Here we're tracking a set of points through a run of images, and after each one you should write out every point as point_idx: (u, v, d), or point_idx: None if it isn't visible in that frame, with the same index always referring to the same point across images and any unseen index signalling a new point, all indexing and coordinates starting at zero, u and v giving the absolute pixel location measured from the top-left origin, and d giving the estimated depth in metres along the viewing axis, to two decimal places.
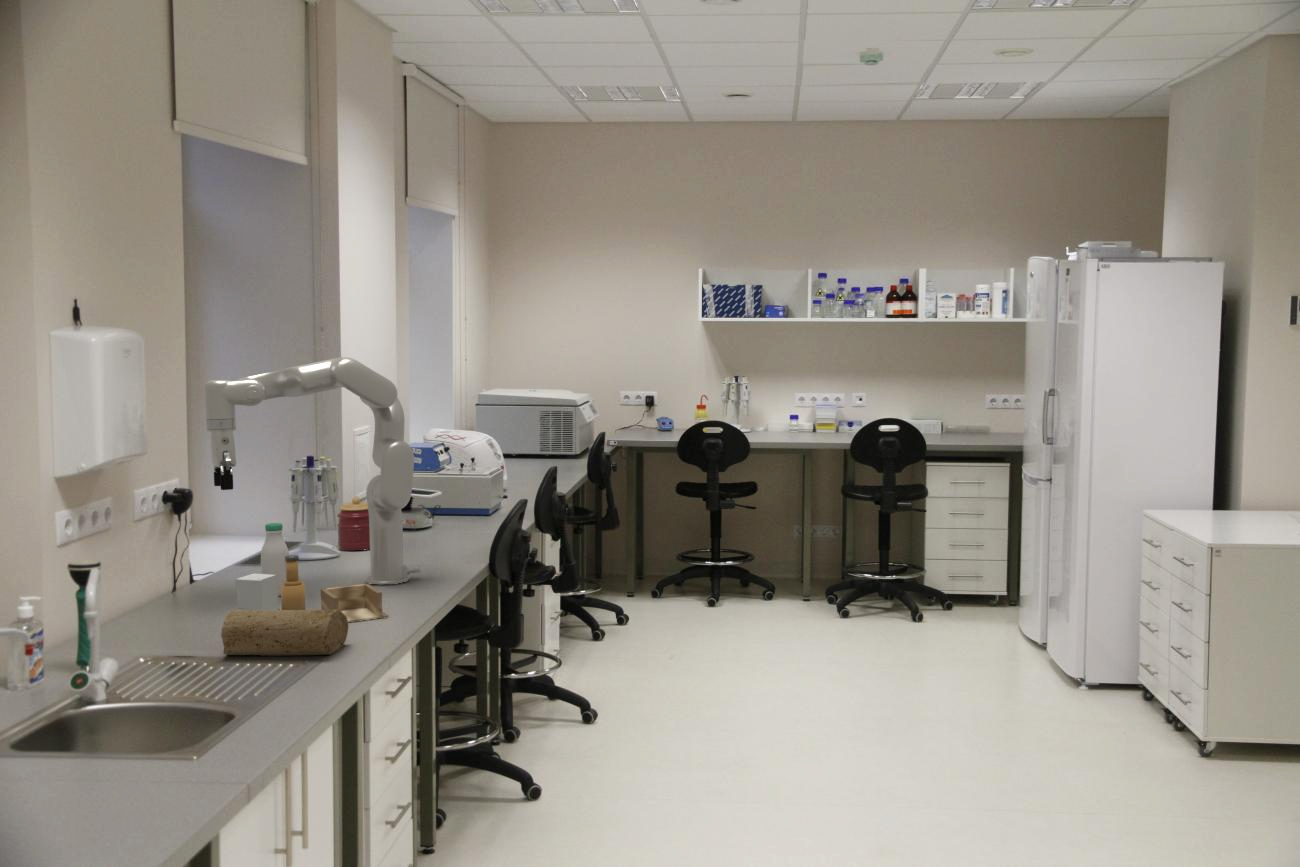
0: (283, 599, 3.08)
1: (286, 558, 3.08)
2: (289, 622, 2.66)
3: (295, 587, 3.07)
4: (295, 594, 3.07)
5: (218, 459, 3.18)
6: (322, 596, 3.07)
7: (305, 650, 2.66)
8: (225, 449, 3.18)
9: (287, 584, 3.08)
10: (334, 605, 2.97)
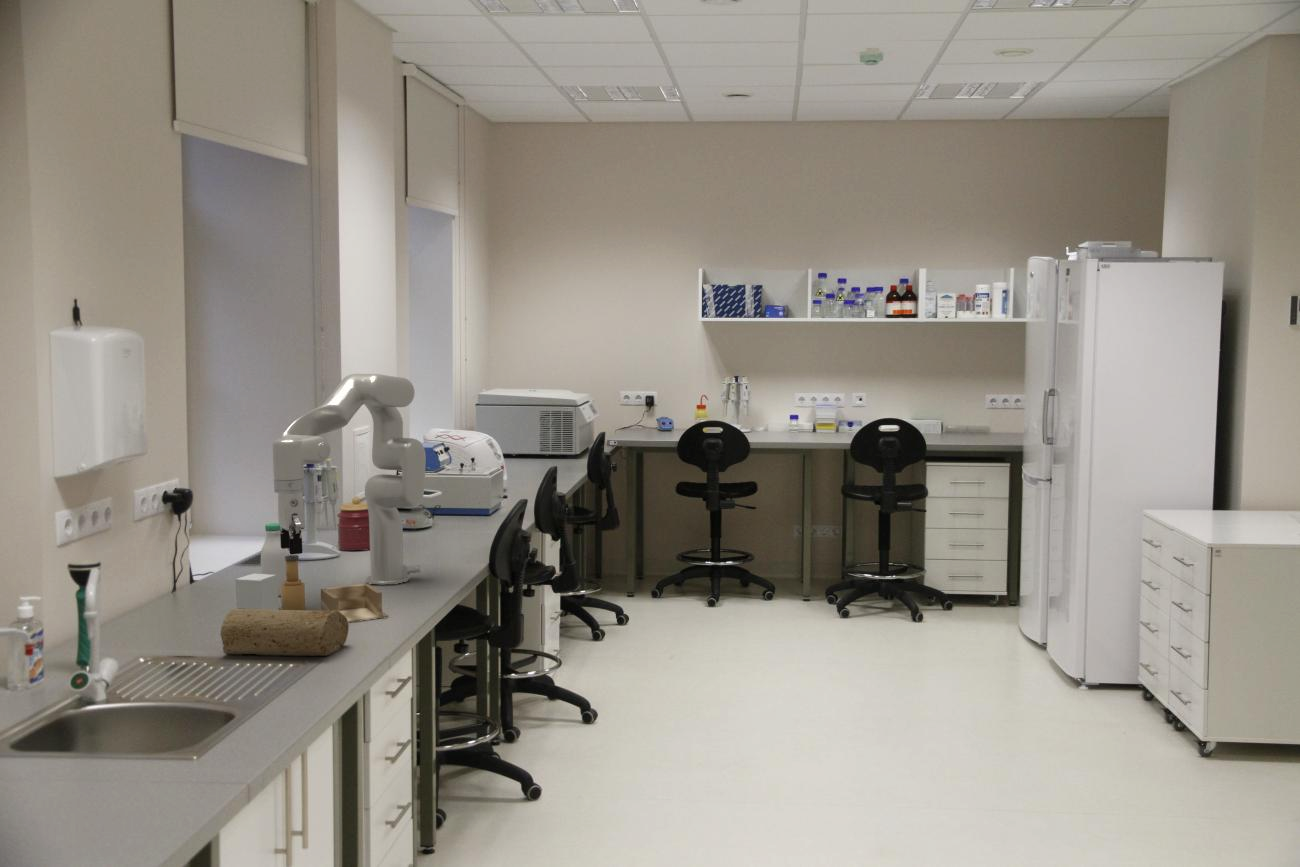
0: (283, 599, 3.08)
1: (286, 558, 3.08)
2: (286, 622, 2.66)
3: (295, 587, 3.07)
4: (295, 594, 3.07)
5: (287, 522, 3.03)
6: (322, 596, 3.07)
7: (302, 650, 2.65)
8: (294, 511, 3.04)
9: (287, 584, 3.08)
10: (334, 605, 2.97)
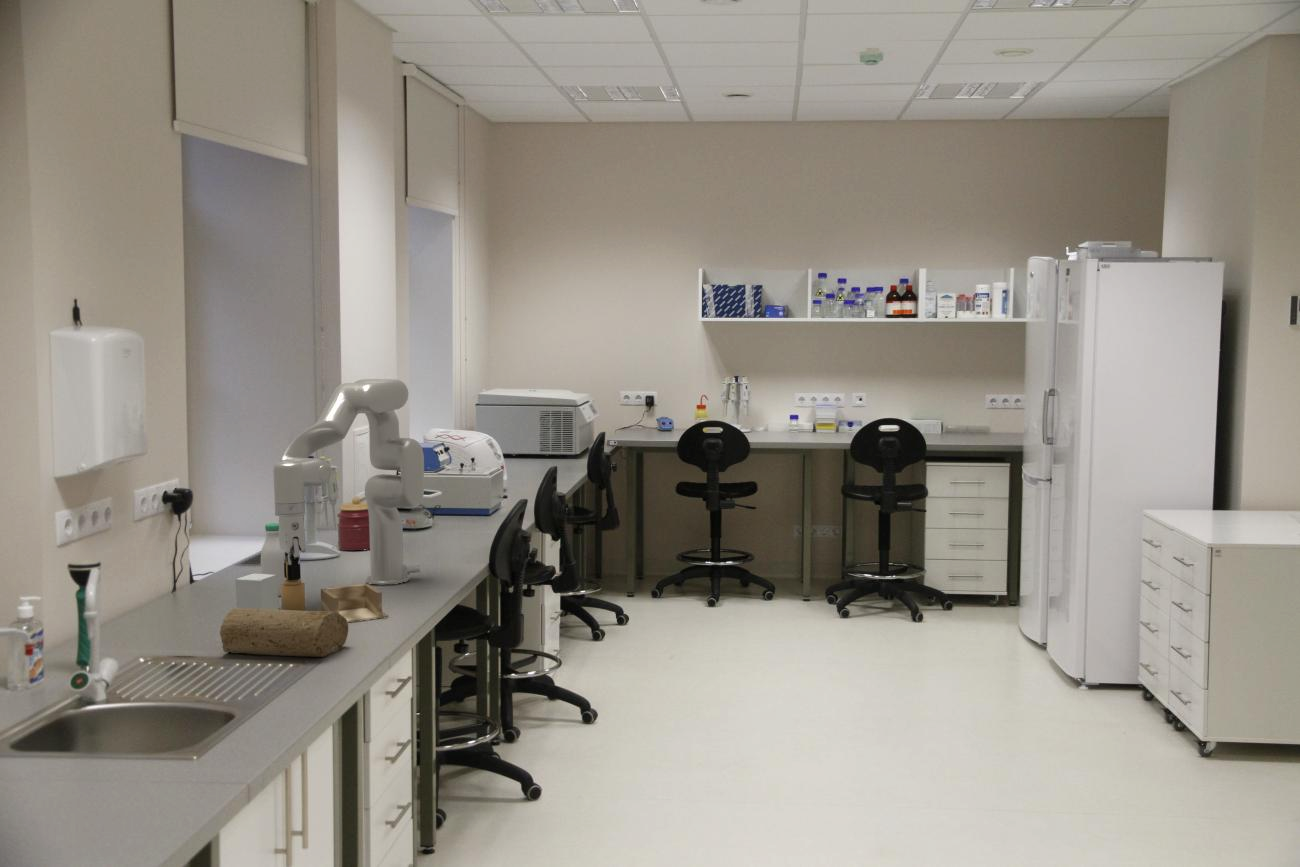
0: (283, 599, 3.08)
1: (286, 558, 3.08)
2: (283, 622, 2.66)
3: (295, 587, 3.07)
4: (295, 594, 3.07)
5: (288, 545, 3.04)
6: (322, 596, 3.07)
7: (298, 651, 2.65)
8: (295, 535, 3.04)
9: (287, 584, 3.08)
10: (334, 605, 2.97)
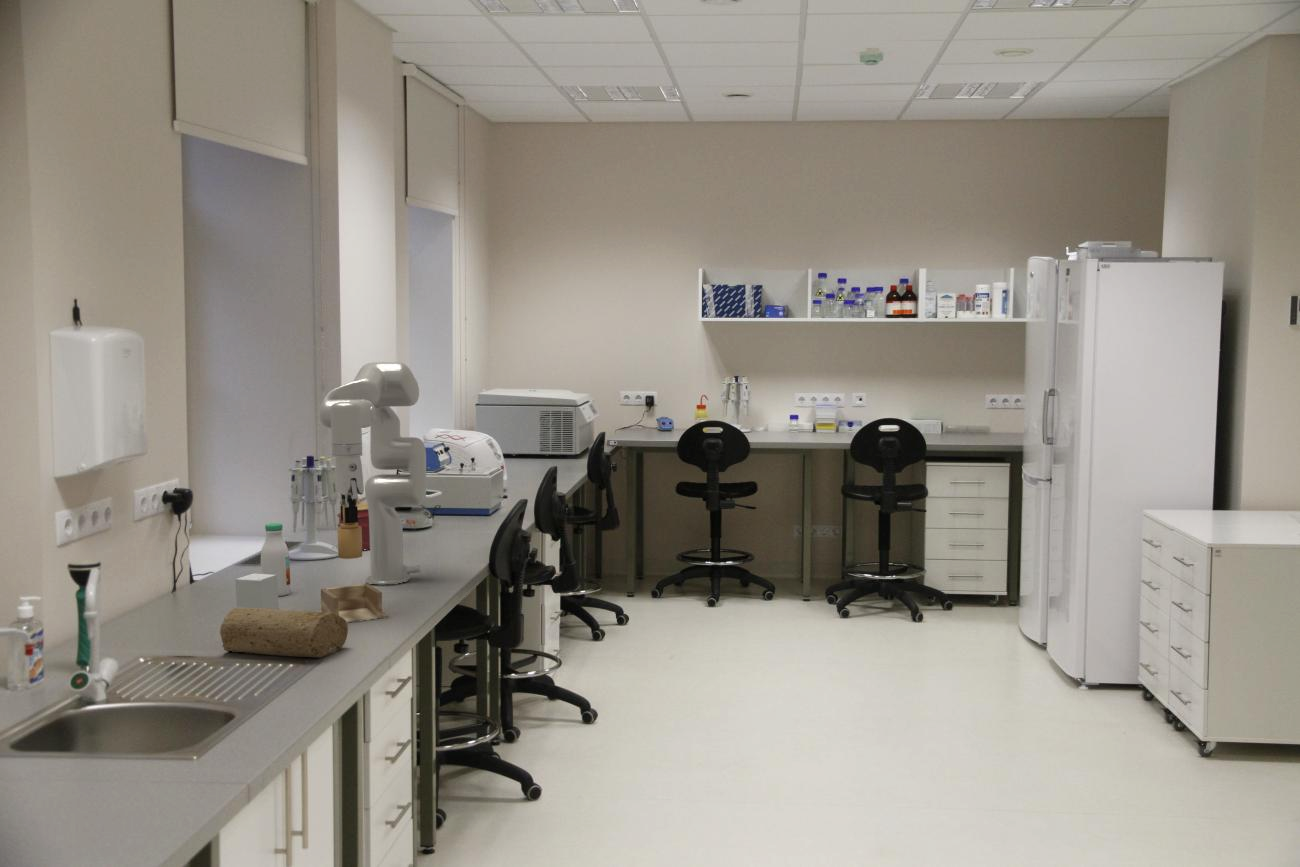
0: (340, 542, 3.02)
1: (343, 500, 3.02)
2: (281, 622, 2.66)
3: (352, 530, 3.01)
4: (352, 537, 3.01)
5: (346, 487, 2.98)
6: (322, 596, 3.07)
7: (294, 651, 2.65)
8: (353, 476, 2.98)
9: (344, 527, 3.02)
10: (334, 605, 2.97)
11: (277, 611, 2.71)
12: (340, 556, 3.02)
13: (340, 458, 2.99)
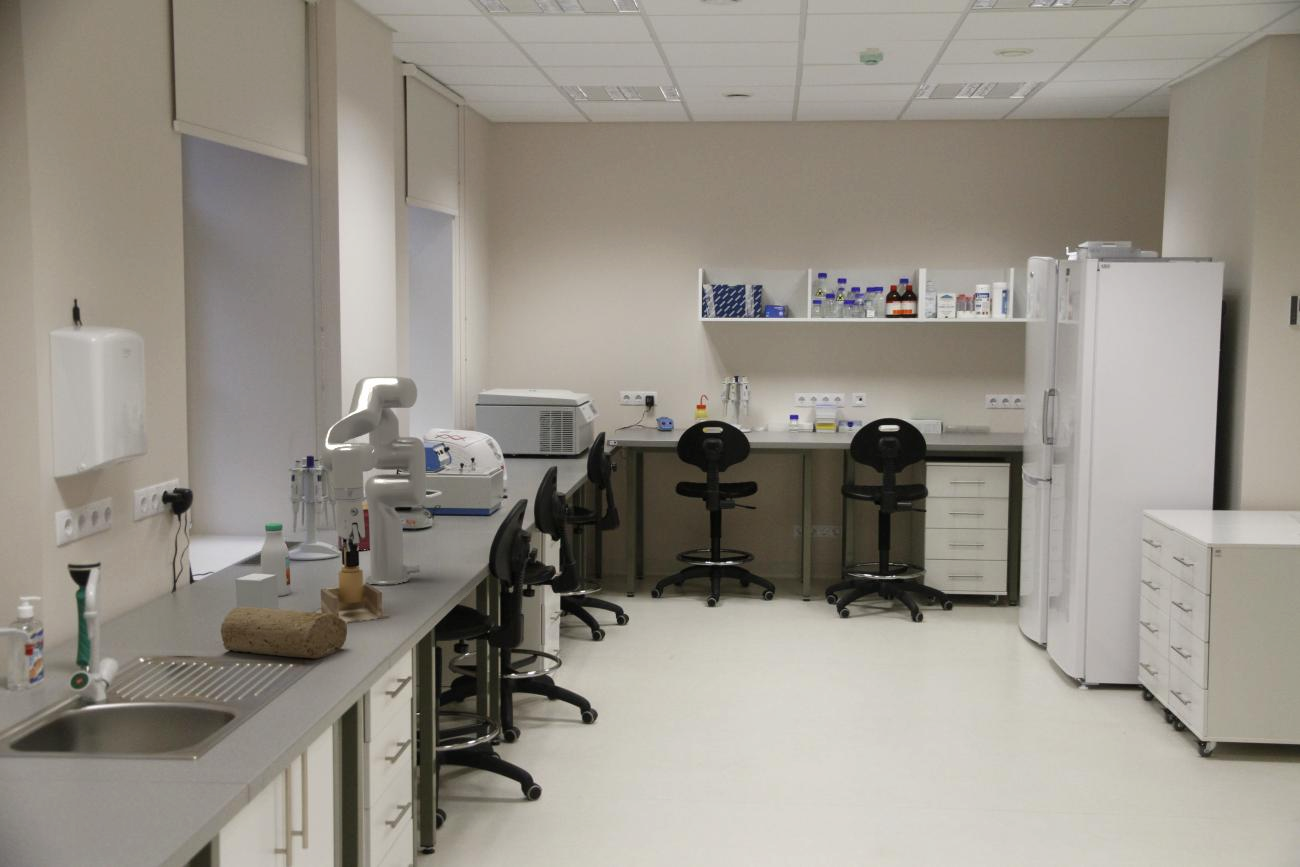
0: (341, 586, 3.02)
1: (344, 544, 3.03)
2: (278, 622, 2.66)
3: (353, 574, 3.02)
4: (353, 581, 3.02)
5: (347, 531, 2.99)
6: (322, 596, 3.07)
7: (291, 652, 2.64)
8: (354, 521, 2.99)
9: (345, 571, 3.02)
10: (334, 605, 2.97)
11: (276, 611, 2.71)
12: (341, 600, 3.03)
13: (341, 502, 3.00)
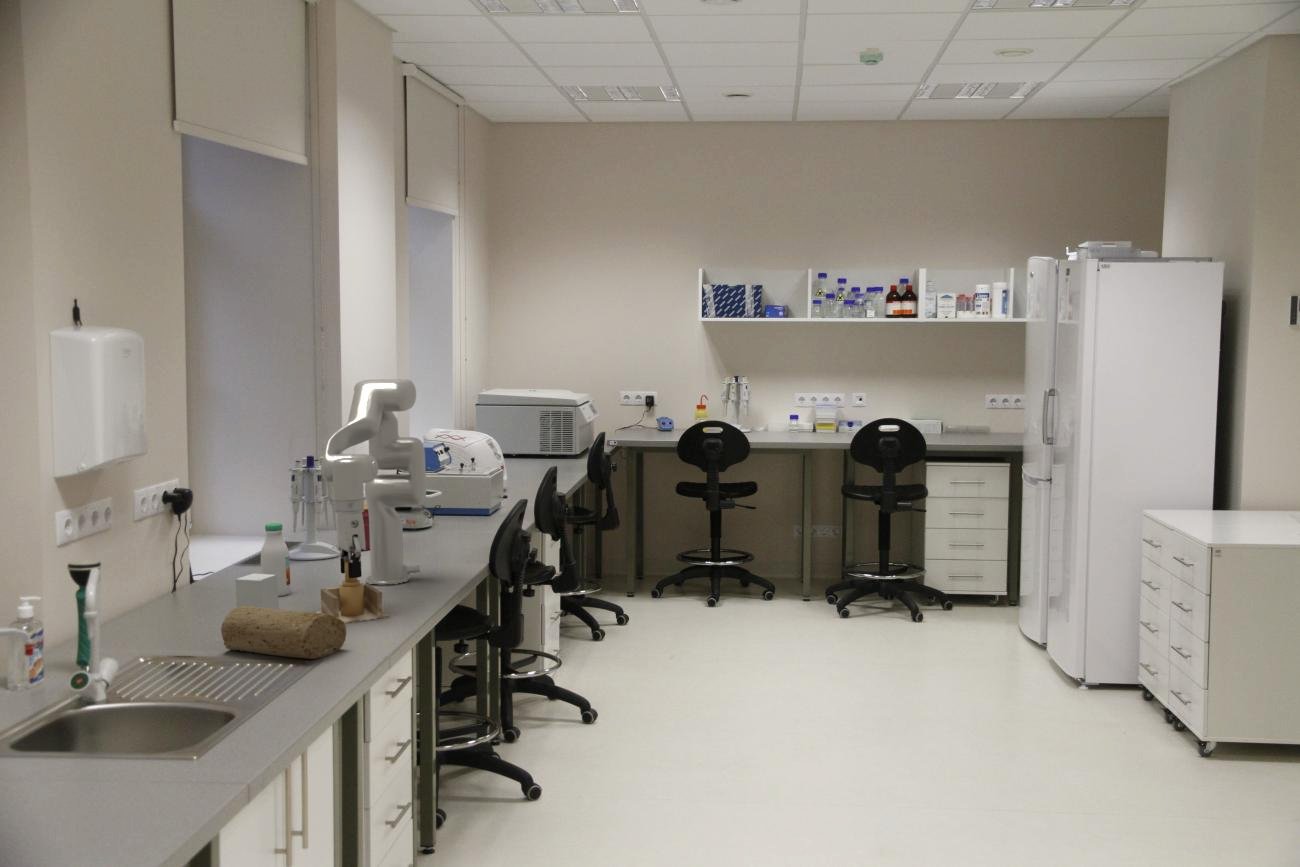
0: (342, 600, 3.03)
1: (345, 558, 3.03)
2: (276, 622, 2.66)
3: (354, 588, 3.03)
4: (354, 595, 3.03)
5: (347, 543, 2.99)
6: (322, 596, 3.07)
7: (288, 652, 2.64)
8: (355, 532, 2.99)
9: (346, 585, 3.03)
10: (334, 605, 2.97)
11: (276, 611, 2.71)
12: (342, 614, 3.04)
13: (342, 514, 3.00)
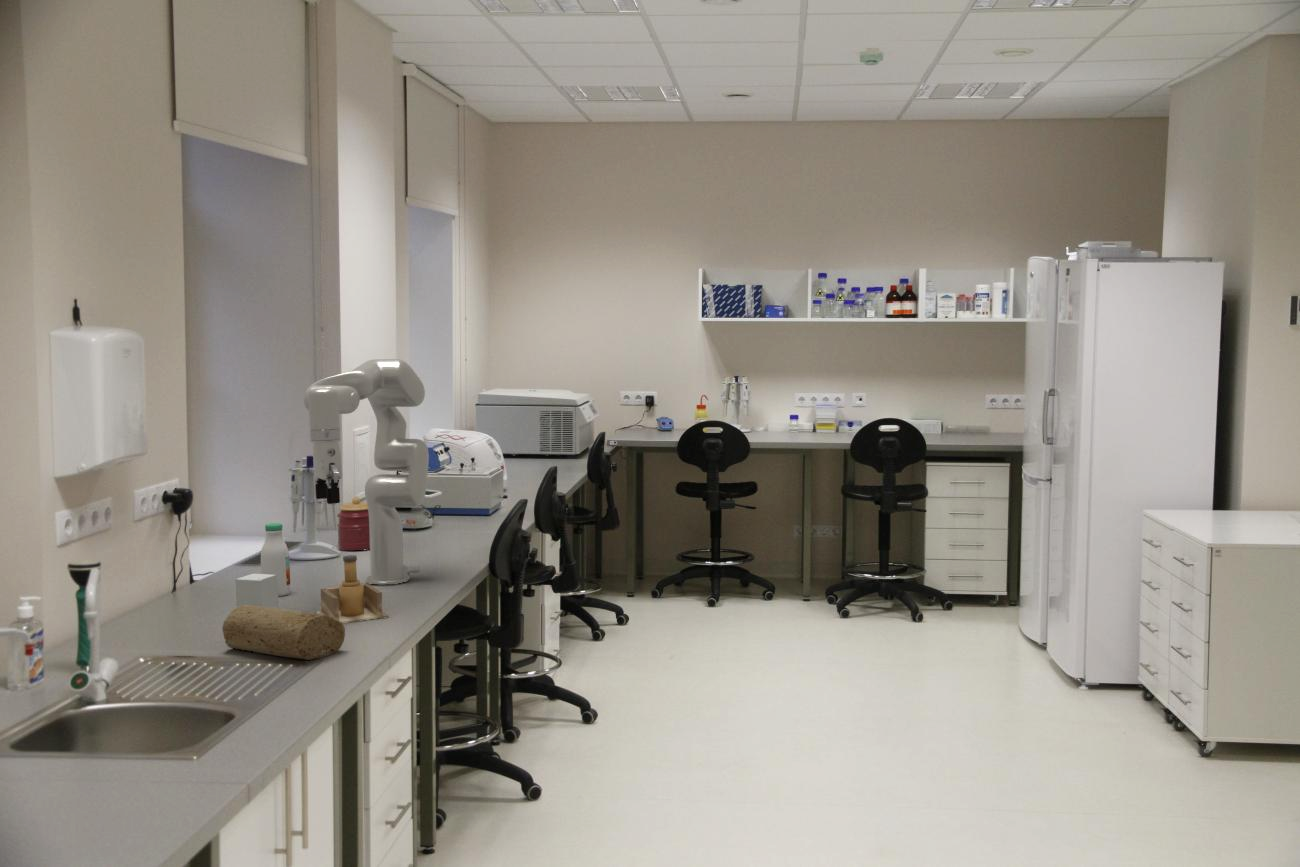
0: (342, 600, 3.03)
1: (344, 558, 3.03)
2: (274, 622, 2.66)
3: (354, 588, 3.03)
4: (354, 595, 3.03)
5: (324, 471, 3.03)
6: (322, 596, 3.07)
7: (284, 652, 2.64)
8: (331, 461, 3.04)
9: (346, 585, 3.03)
10: (334, 605, 2.97)
11: (276, 611, 2.71)
12: (342, 614, 3.04)
13: (318, 443, 3.05)
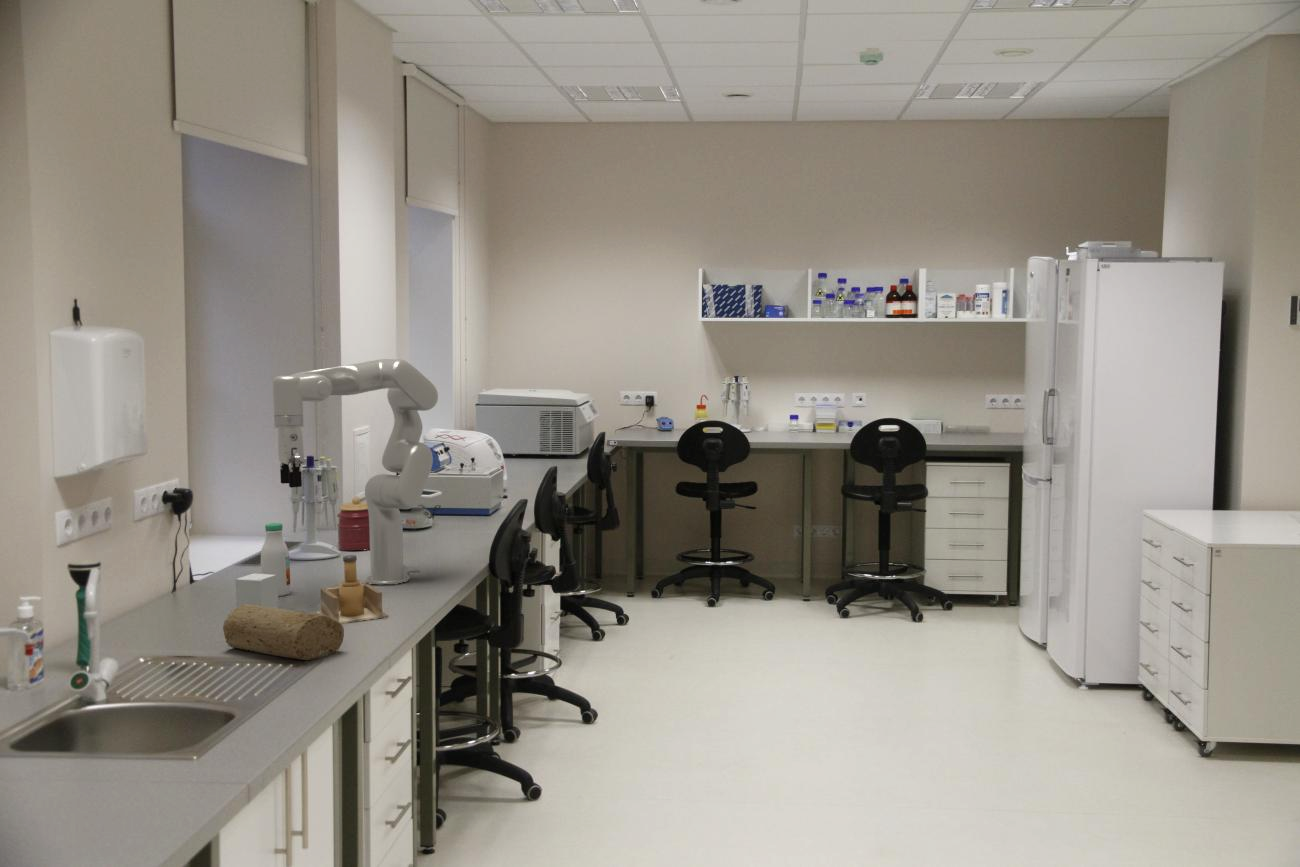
0: (342, 600, 3.03)
1: (344, 558, 3.03)
2: (272, 622, 2.66)
3: (354, 588, 3.03)
4: (353, 595, 3.03)
5: (287, 456, 3.13)
6: (322, 596, 3.07)
7: (282, 652, 2.64)
8: (294, 446, 3.14)
9: (345, 585, 3.03)
10: (334, 605, 2.97)
11: (275, 611, 2.71)
12: (342, 614, 3.04)
13: (282, 429, 3.15)
